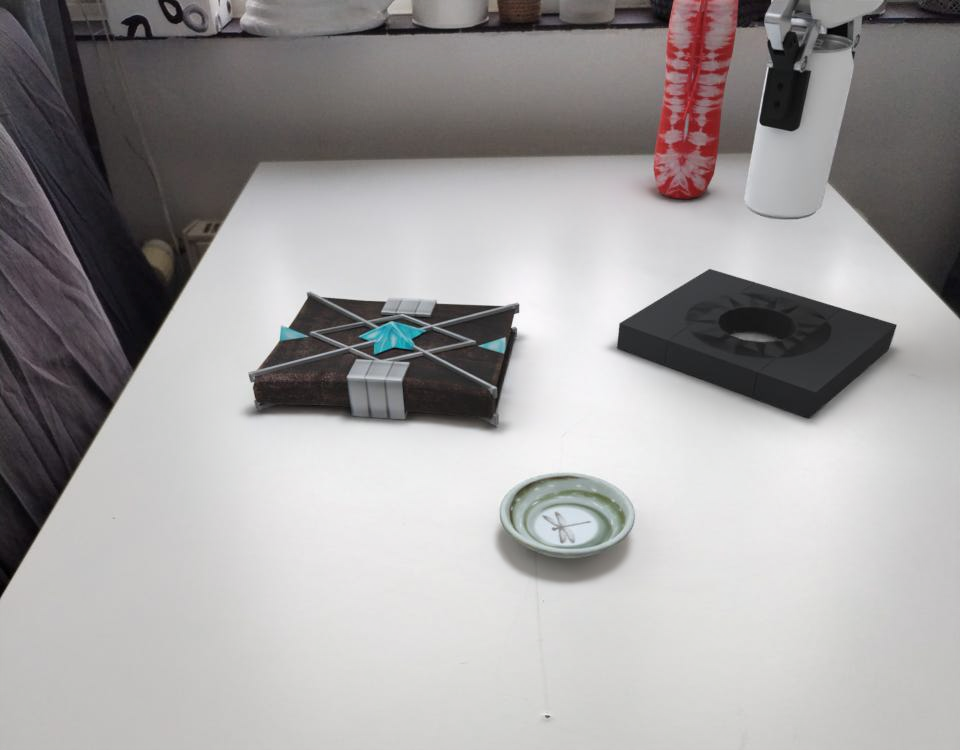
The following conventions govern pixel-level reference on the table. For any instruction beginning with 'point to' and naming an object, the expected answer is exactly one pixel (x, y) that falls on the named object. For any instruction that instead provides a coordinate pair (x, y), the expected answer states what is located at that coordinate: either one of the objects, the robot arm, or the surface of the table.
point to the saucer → (567, 515)
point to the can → (802, 139)
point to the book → (390, 358)
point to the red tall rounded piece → (693, 94)
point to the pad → (750, 364)
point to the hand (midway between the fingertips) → (801, 114)
